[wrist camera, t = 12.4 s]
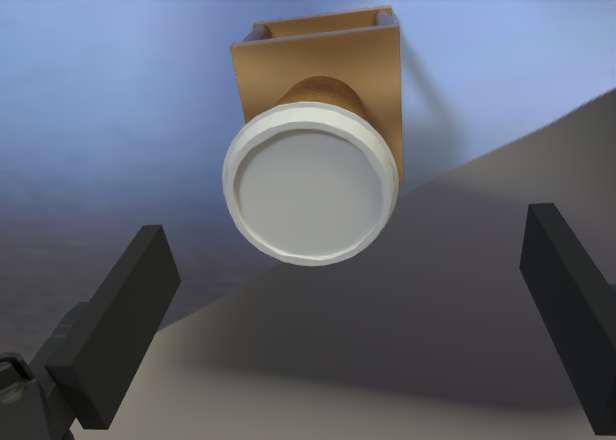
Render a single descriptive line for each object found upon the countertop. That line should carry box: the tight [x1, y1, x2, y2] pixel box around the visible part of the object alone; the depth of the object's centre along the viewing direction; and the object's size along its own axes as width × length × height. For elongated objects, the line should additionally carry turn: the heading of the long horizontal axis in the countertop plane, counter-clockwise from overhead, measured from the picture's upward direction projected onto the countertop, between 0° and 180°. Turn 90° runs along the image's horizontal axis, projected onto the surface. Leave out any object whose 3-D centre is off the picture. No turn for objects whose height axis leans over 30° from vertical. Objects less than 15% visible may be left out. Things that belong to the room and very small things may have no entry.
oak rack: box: [230, 5, 403, 183], centre depth 38 cm, size 12×12×10 cm
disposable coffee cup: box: [222, 76, 399, 266], centre depth 29 cm, size 10×10×12 cm
